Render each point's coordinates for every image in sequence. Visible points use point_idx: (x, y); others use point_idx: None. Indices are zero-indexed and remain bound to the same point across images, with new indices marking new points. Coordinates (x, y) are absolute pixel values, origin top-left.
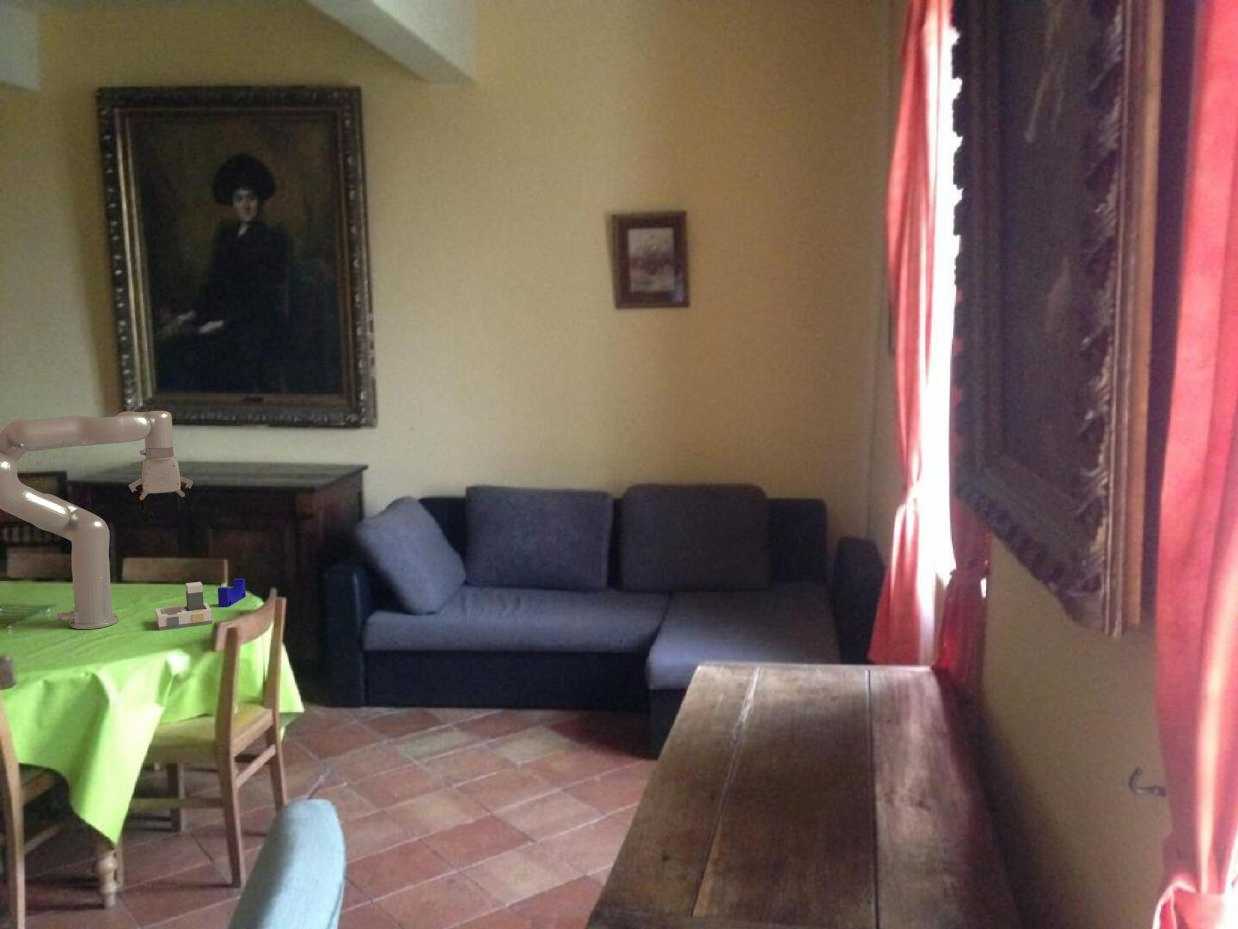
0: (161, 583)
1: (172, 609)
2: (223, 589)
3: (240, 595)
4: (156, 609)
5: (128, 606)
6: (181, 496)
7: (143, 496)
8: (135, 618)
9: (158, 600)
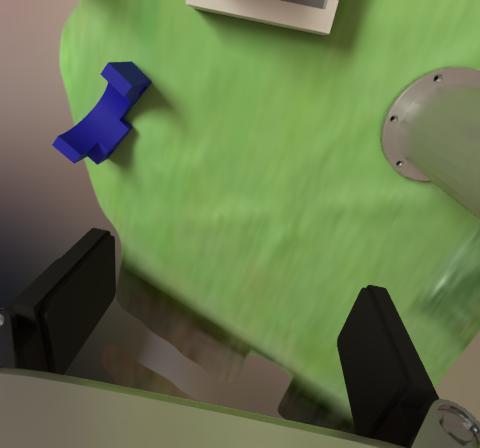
0: (210, 321)
1: (288, 2)
2: (119, 71)
3: (88, 115)
4: (330, 17)
5: (315, 216)
6: (8, 316)
7: (445, 439)
8: (346, 108)
9: (250, 221)
